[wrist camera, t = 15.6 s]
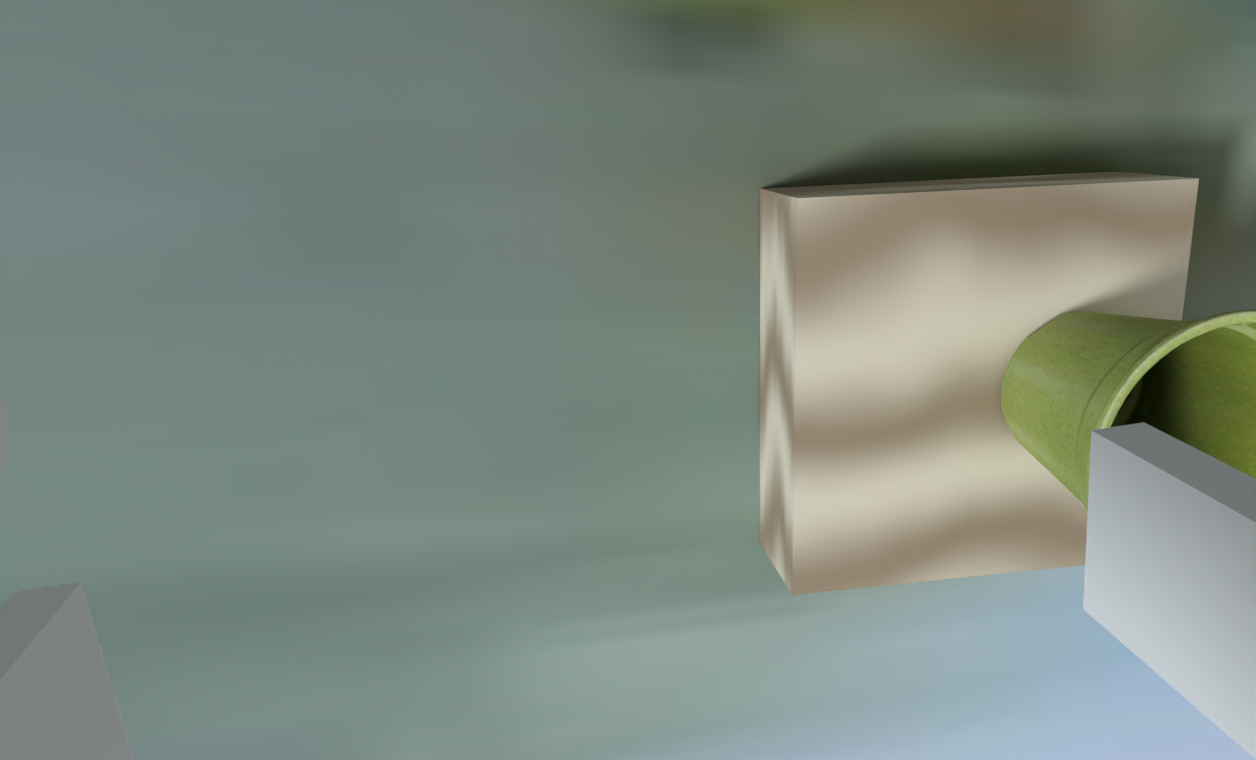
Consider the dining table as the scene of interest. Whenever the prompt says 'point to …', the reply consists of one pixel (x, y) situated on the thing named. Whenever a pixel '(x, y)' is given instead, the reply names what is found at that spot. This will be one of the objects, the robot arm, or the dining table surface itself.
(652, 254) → the dining table surface
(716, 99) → the dining table surface
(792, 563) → the birch pedestal block
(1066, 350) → the plant pot
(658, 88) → the dining table surface
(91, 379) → the dining table surface
